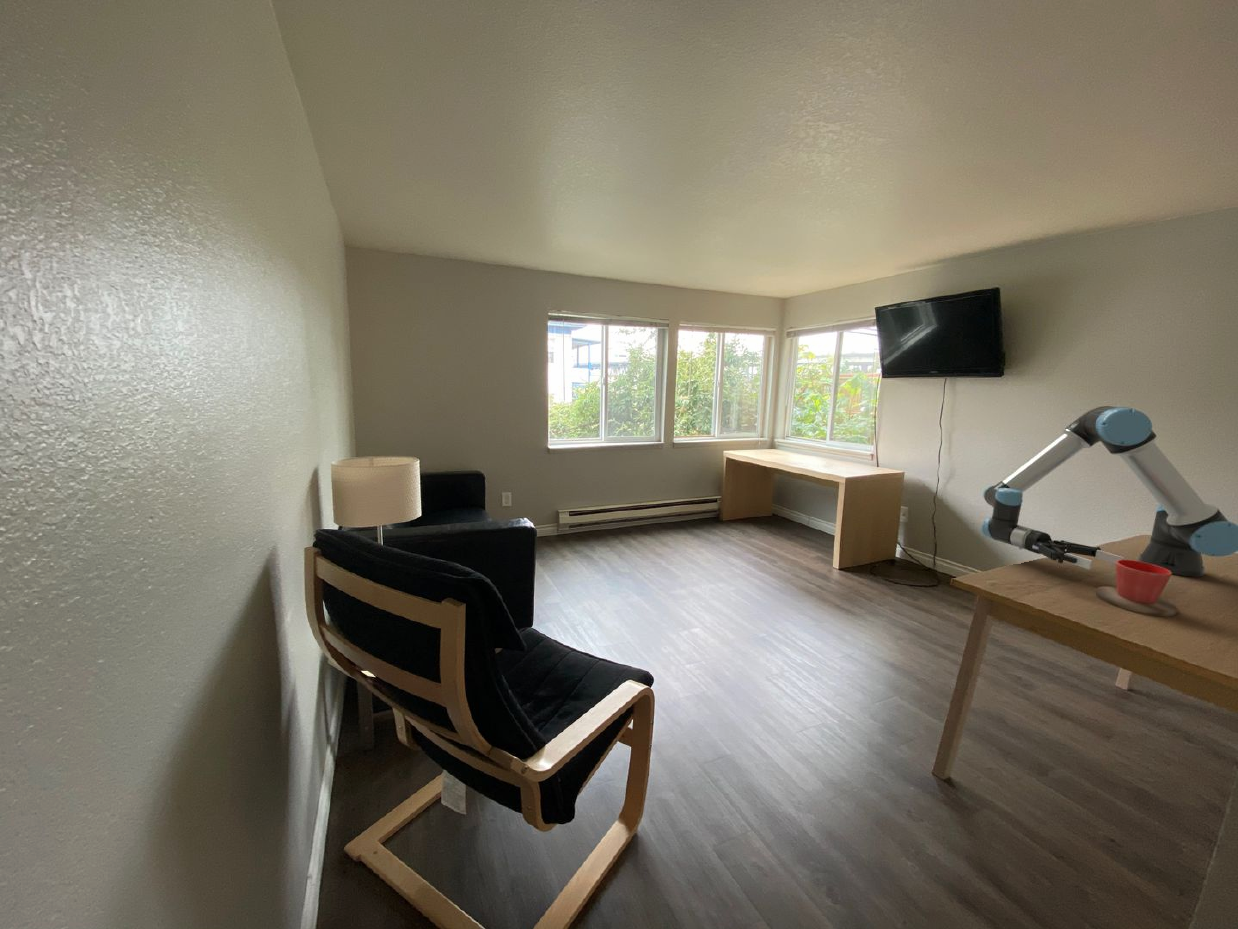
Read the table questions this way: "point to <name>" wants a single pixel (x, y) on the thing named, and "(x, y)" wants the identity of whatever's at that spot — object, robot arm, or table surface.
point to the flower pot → (1140, 580)
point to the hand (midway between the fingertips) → (1106, 563)
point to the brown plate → (1136, 603)
